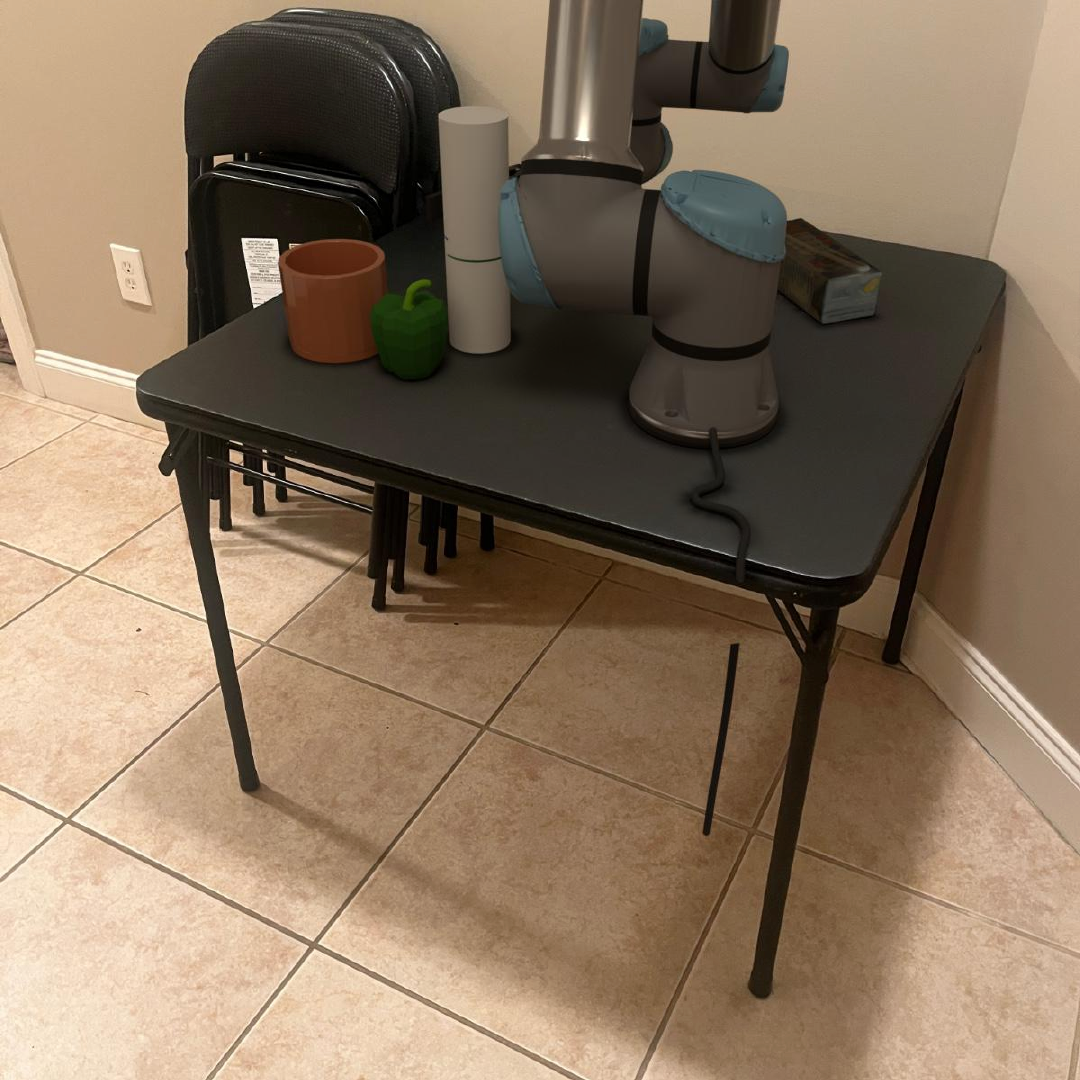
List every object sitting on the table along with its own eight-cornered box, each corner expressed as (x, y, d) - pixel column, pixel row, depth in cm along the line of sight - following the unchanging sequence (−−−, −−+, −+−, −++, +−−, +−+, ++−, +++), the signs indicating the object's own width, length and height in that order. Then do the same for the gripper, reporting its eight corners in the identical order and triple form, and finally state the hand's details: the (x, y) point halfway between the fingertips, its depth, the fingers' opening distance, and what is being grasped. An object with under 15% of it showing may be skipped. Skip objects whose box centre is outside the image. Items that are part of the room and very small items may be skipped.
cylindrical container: (500, 323, 123) (496, 104, 108) (518, 348, 118) (517, 121, 103) (443, 331, 121) (431, 109, 106) (458, 357, 116) (448, 126, 101)
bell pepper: (378, 390, 109) (369, 302, 103) (372, 356, 116) (364, 271, 110) (456, 383, 111) (451, 296, 105) (446, 350, 117) (442, 266, 111)
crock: (393, 360, 115) (386, 275, 109) (288, 366, 114) (275, 280, 108) (390, 317, 124) (383, 236, 118) (292, 322, 123) (280, 241, 117)
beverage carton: (818, 326, 123) (828, 274, 119) (743, 268, 138) (749, 220, 134) (875, 317, 125) (886, 265, 121) (795, 261, 140) (802, 213, 136)
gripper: (671, 226, 121) (568, 282, 107) (505, 185, 133) (393, 231, 119) (677, 161, 117) (570, 211, 103) (505, 125, 129) (388, 165, 115)
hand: (475, 222), depth 111 cm, fingers open, 13 cm apart
